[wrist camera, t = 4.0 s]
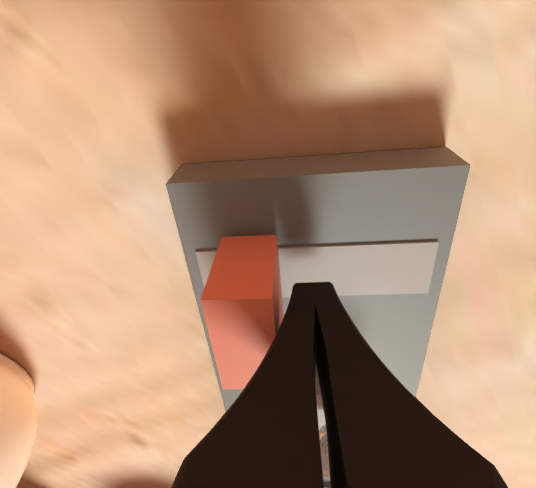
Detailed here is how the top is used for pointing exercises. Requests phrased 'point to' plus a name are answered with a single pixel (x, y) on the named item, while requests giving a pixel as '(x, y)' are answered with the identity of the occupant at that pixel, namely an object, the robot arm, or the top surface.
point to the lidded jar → (15, 421)
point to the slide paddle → (243, 305)
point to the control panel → (336, 237)
